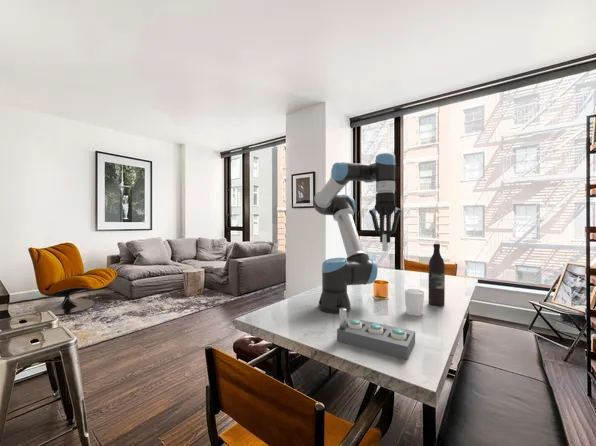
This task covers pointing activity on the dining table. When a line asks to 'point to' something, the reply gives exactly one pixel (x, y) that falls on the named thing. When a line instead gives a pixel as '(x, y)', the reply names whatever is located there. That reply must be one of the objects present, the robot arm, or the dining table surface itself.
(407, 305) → the white cup
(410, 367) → the dining table surface
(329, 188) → the robot arm
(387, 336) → the plate
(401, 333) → the knob
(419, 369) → the dining table surface
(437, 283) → the wine bottle
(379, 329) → the knob middle
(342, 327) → the grey metal rod
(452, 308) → the dining table surface
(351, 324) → the knob
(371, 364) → the dining table surface
